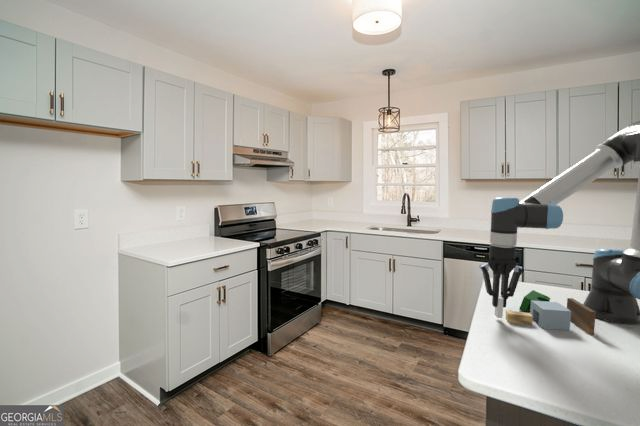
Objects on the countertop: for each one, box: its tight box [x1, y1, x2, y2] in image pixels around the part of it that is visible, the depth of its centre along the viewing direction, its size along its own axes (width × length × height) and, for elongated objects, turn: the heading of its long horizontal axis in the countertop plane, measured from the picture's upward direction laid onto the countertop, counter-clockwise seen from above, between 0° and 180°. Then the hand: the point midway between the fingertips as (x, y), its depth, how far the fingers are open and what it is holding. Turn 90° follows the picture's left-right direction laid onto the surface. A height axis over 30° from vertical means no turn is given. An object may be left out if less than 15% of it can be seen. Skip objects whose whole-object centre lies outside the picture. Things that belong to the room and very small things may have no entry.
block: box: [529, 300, 571, 331], centre depth 107 cm, size 8×8×6 cm
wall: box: [566, 297, 596, 335], centre depth 106 cm, size 2×12×7 cm, turn 171°
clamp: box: [519, 289, 551, 313], centre depth 118 cm, size 12×6×9 cm
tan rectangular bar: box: [505, 310, 534, 326], centre depth 109 cm, size 7×3×3 cm, turn 72°
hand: (498, 316), depth 110 cm, fingers closed
